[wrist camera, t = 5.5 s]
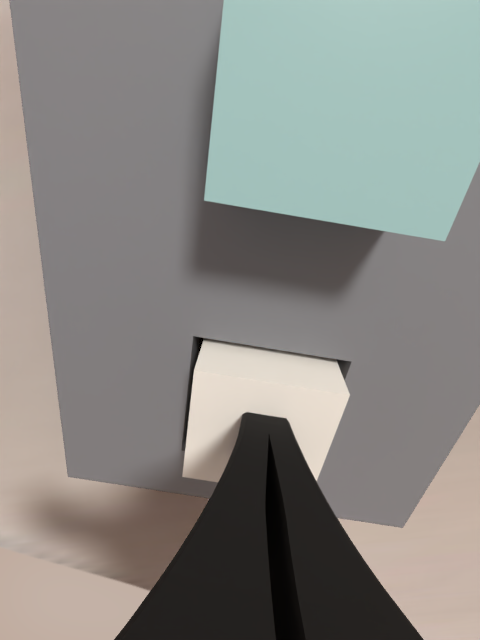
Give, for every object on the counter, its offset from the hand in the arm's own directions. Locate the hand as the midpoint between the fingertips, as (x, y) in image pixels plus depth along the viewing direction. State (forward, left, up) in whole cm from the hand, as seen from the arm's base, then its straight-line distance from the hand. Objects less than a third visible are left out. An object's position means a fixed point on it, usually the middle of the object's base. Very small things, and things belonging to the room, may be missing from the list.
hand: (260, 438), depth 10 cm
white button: (0, 0, -3) cm, 3 cm away
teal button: (0, +9, -2) cm, 9 cm away
